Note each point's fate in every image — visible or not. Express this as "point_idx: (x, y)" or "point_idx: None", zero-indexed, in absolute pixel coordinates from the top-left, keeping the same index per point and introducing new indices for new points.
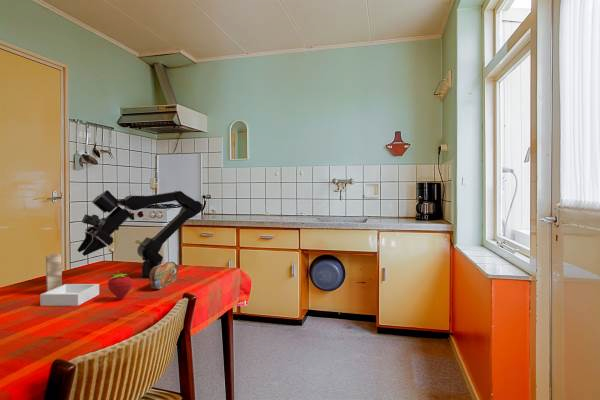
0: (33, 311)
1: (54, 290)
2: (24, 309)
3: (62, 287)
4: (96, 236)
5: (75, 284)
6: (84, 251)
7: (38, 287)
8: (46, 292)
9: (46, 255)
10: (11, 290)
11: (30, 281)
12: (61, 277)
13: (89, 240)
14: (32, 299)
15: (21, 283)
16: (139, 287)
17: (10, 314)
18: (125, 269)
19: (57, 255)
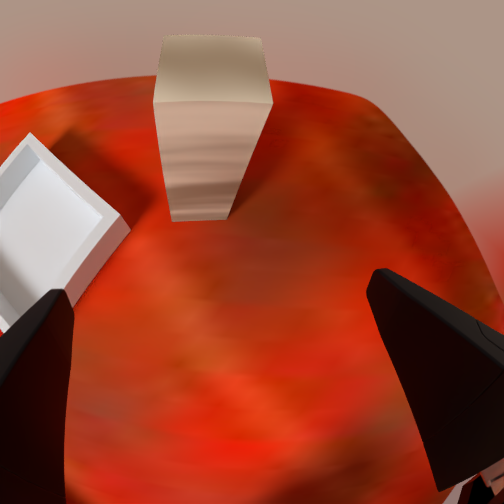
0: (12, 142)
1: (56, 173)
2: (48, 119)
3: (87, 203)
4: (495, 493)
5: (77, 258)
6: (27, 311)
7: (326, 158)
8: (37, 147)
9: (244, 38)
10: (325, 98)
11: (417, 158)
12: (166, 191)
13: (472, 413)
14: (144, 128)
15: (402, 135)
16: (77, 491)
17: (36, 99)
18: (425, 462)
19: (178, 80)
